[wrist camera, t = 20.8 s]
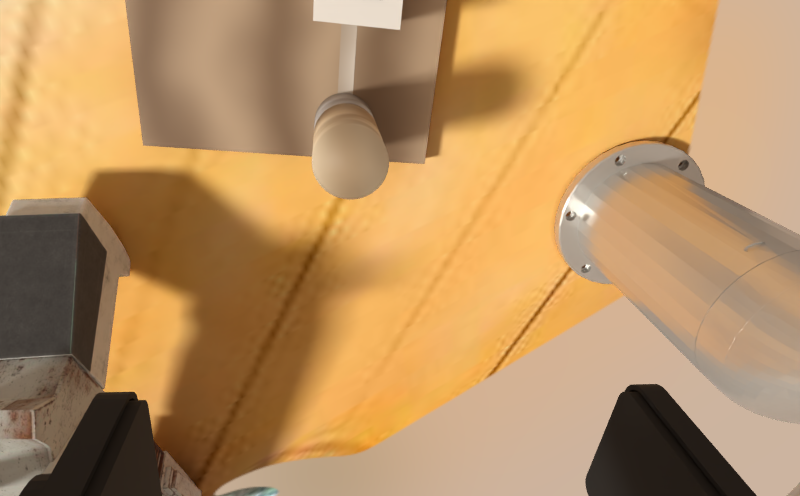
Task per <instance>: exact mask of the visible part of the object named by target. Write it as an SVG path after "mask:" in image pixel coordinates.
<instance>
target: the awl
mask: <svg viewBox="0 0 800 496" xmlns="http://www.w3.org/2000/svg"><path fill="white" fill-rule="evenodd" d="M388 167H389V157H388V153H387V150H386V147H385V145H384V142H383V140H382V137H381V135H380V132H379V130H378V127H377V125H376V122H375V120H374V117H373V114H372V112H371V110H370V108H369V106H368V105H367V104H366V103H365V101H363V100H362V99H361V98H359V97H358V96H356V95H353V94H350V93H337V94H334V95H331V96H329V97H328V98H326V99H325V100H324V101H323V102H322V103H321V104H320V106H319V107H318V109H317V112H316V115H315V123H314V137H313V152H312V168H313V173H314V176H315V178H316V180H317V181H318V183H319V184H320V185H321V187H322V188H323V189H324V190H326V191H327V192H328V193H330V194H332V195H333V196H336V197H339V198H343V199H358V198H362V197H365V196H367V195H369V194H371V193H373V192H374V191H375V190H376V189H378V188H379V186H380V185H381V184H382V183H383V181H384V179H385V177H386V175H387V172H388Z"/></svg>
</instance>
